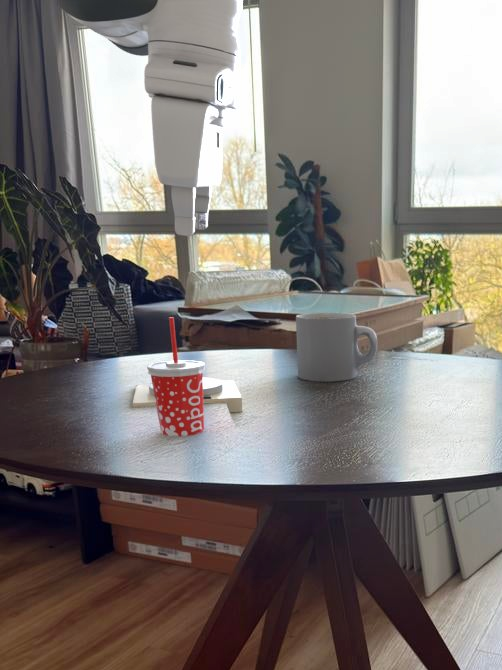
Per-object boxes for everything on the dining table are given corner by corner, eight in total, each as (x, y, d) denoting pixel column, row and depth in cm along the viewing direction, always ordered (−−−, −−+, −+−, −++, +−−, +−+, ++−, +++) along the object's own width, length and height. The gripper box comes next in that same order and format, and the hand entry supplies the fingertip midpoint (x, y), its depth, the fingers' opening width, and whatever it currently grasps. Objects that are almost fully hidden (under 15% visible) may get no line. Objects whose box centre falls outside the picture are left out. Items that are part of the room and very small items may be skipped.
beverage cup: (172, 454, 79) (158, 321, 74) (146, 443, 83) (131, 317, 78) (221, 443, 83) (211, 317, 78) (194, 433, 87) (182, 313, 82)
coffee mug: (290, 380, 119) (287, 318, 116) (309, 370, 128) (307, 312, 125) (368, 383, 117) (368, 320, 113) (382, 373, 126) (382, 314, 122)
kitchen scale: (134, 418, 94) (131, 395, 93) (137, 398, 106) (135, 378, 105) (242, 411, 98) (241, 389, 97) (234, 393, 109) (233, 373, 108)
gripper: (180, 91, 81) (179, 222, 87) (139, 66, 63) (141, 234, 68) (236, 100, 82) (232, 229, 88) (213, 77, 64) (209, 243, 69)
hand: (192, 232), depth 78 cm, fingers open, 8 cm apart
